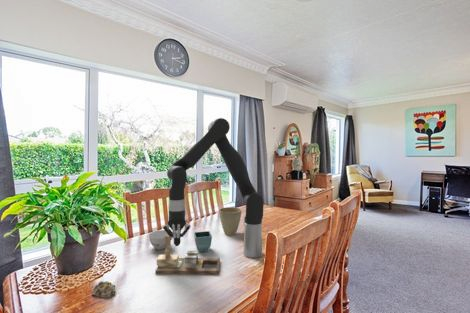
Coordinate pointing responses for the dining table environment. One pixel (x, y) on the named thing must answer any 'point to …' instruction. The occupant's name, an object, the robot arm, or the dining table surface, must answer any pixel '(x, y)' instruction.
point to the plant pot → (230, 219)
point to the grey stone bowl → (158, 239)
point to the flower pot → (203, 240)
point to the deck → (192, 265)
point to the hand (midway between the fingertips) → (177, 245)
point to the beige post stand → (167, 255)
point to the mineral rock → (104, 289)
